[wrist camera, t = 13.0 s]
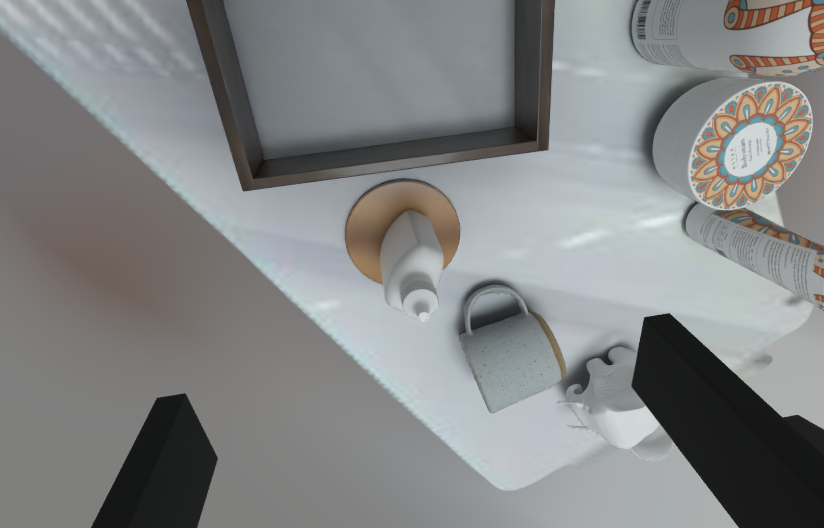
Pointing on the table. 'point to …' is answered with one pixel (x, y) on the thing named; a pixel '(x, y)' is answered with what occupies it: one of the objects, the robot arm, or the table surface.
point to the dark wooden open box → (258, 173)
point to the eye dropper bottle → (411, 265)
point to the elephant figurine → (618, 408)
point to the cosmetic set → (738, 124)
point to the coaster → (381, 212)
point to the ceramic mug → (511, 354)
